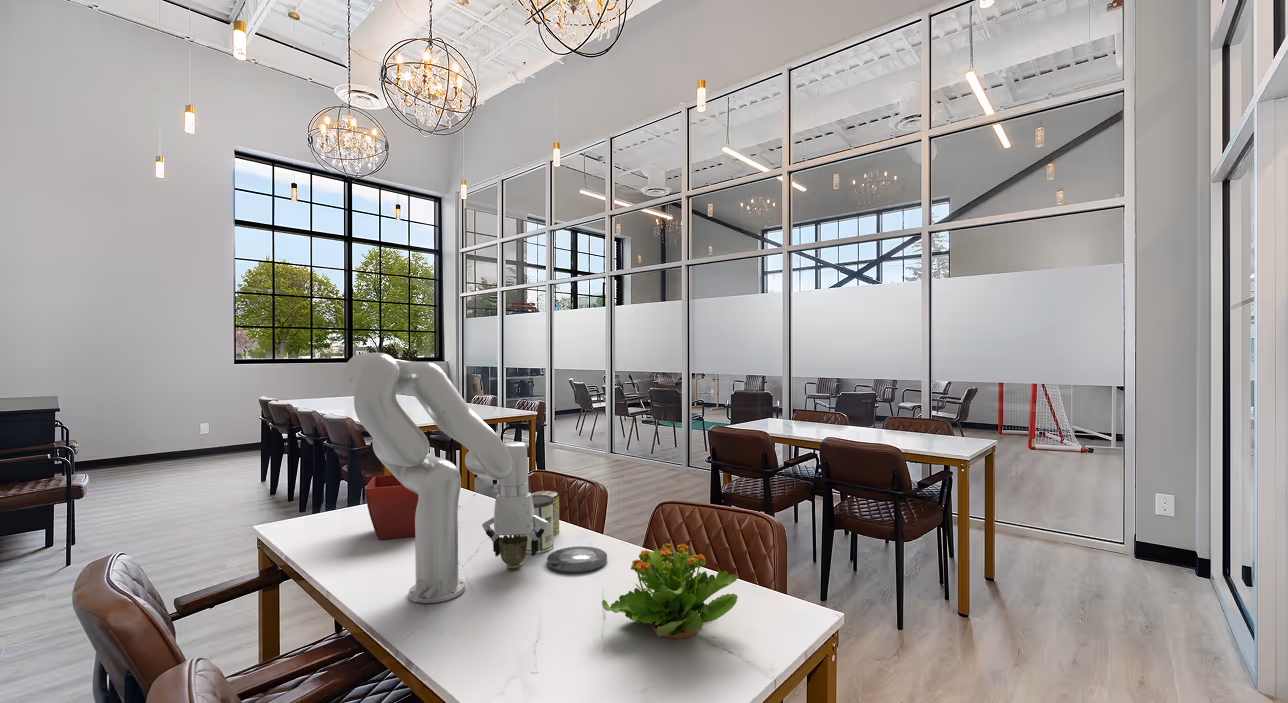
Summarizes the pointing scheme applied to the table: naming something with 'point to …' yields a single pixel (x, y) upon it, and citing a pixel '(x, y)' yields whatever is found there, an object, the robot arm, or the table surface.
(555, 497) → the yellow tin can
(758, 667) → the table surface
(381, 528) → the plant pot
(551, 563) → the gray dinner plate
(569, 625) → the table surface
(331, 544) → the table surface
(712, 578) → the potted flower
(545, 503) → the coffee can
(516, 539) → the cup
